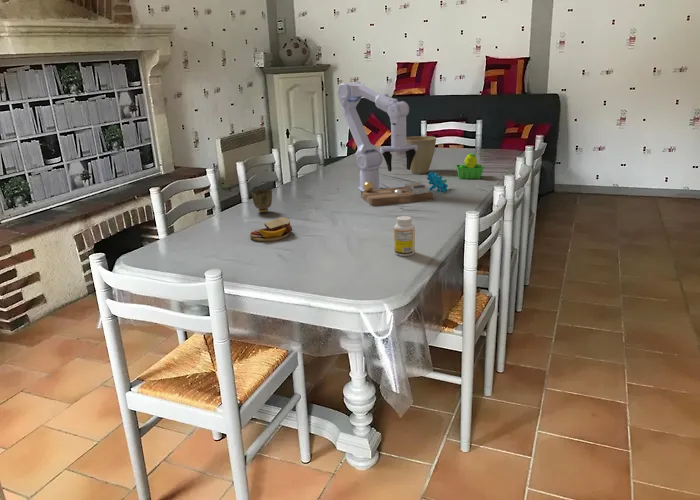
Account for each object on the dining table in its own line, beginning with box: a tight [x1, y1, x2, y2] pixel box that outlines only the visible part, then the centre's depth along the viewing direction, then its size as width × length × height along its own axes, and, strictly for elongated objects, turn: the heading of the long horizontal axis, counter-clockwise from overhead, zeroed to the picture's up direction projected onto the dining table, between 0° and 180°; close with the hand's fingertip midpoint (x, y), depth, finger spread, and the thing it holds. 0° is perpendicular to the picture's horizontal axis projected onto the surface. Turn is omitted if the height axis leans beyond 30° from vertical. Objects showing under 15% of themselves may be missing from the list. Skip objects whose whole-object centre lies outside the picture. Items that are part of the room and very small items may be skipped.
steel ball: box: [394, 189, 403, 194], centre depth 216 cm, size 4×4×4 cm
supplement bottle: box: [393, 215, 416, 257], centre depth 154 cm, size 6×6×10 cm
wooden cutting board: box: [360, 186, 434, 207], centre depth 215 cm, size 14×24×2 cm, turn 105°
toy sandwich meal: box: [249, 216, 293, 243], centre depth 175 cm, size 12×14×5 cm
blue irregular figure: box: [426, 171, 449, 193], centre depth 225 cm, size 11×6×10 cm
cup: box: [251, 188, 273, 214], centre depth 203 cm, size 8×7×8 cm
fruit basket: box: [455, 152, 485, 180], centre depth 245 cm, size 11×9×11 cm
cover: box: [404, 181, 429, 194], centre depth 214 cm, size 10×6×3 cm, turn 15°
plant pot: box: [406, 135, 437, 175], centre depth 260 cm, size 15×15×16 cm
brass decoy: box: [363, 181, 374, 192], centre depth 217 cm, size 4×4×4 cm
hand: (399, 170), depth 218 cm, fingers open, 7 cm apart
